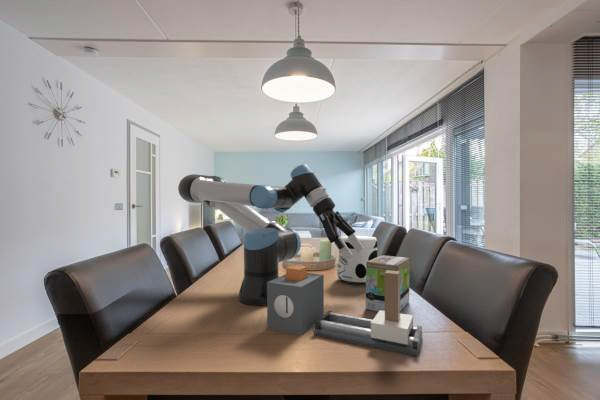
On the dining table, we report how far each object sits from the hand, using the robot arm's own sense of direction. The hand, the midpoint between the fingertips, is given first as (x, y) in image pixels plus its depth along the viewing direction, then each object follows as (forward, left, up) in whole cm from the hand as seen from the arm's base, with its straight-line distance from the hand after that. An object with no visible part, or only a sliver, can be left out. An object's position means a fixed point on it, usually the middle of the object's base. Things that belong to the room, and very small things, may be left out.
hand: (355, 253), depth 104 cm
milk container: (-6, +23, -16) cm, 28 cm away
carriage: (+17, -26, -13) cm, 34 cm away
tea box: (+11, -1, -16) cm, 19 cm away
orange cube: (-8, -26, -4) cm, 28 cm away
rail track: (+11, -26, -15) cm, 32 cm away
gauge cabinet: (-8, -26, -15) cm, 32 cm away
